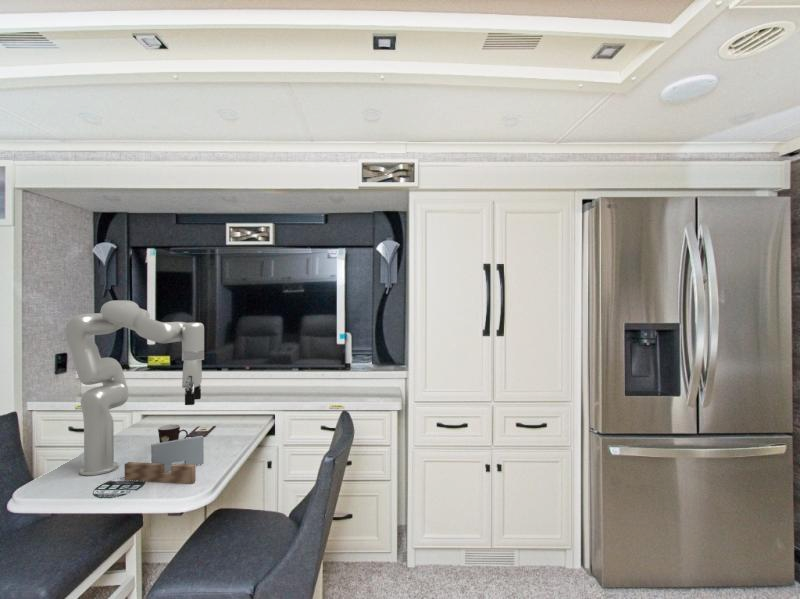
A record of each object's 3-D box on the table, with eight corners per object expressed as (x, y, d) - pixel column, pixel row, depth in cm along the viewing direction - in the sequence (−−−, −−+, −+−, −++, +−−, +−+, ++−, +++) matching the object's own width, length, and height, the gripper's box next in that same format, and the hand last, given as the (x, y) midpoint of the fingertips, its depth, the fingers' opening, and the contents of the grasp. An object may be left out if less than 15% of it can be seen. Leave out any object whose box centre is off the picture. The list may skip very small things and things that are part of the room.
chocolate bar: (185, 436, 219) (197, 426, 237) (185, 438, 219) (197, 428, 237) (205, 435, 220) (215, 425, 238) (205, 437, 220) (215, 427, 238)
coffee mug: (153, 451, 199) (153, 428, 199) (171, 445, 207) (170, 423, 207) (172, 455, 194) (172, 431, 194) (189, 449, 202) (189, 426, 202)
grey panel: (152, 475, 172) (152, 445, 172) (151, 473, 173) (151, 444, 173) (203, 464, 183) (203, 436, 183) (202, 463, 184) (202, 435, 184)
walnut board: (124, 480, 167) (124, 463, 167) (128, 478, 169) (128, 462, 169) (192, 483, 163) (192, 466, 163) (195, 481, 165) (195, 464, 165)
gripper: (188, 353, 180) (188, 397, 180) (175, 359, 163) (175, 407, 163) (208, 353, 181) (208, 396, 181) (198, 358, 164) (198, 406, 164)
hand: (193, 402), depth 172 cm, fingers open, 9 cm apart
